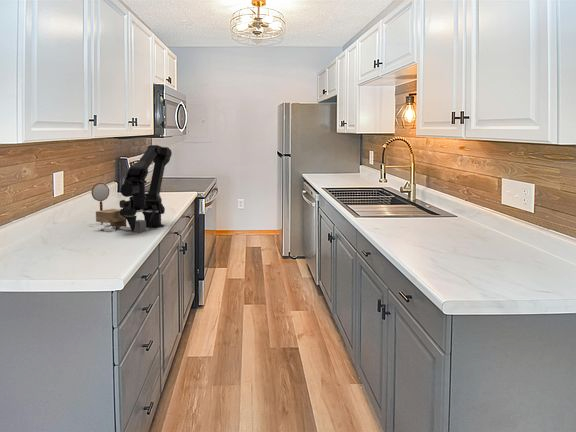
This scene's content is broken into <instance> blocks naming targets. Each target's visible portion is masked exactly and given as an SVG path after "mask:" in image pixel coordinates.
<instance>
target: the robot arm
mask: <svg viewBox="0 0 576 432" xmlns="http://www.w3.org/2000/svg"><path fill="white" fill-rule="evenodd" d="M172 154H173V153H172V150H171V149H170V148H169V147H168V146H167V147H166V146H160V145H158V144H150V145H148V146H147V147H146V151H144V153H143V155H142V156H141V157H140V159H139V160H138V161H137V162H134V163H133V164H131V165H130V167H129V168H128V170H127V172H126V176H125V178H124V183H123V184H122V185H121V187H120V193H121V195H122V196H123V197H125V198H128V197H129V200H125V199H122V200H119V209H121V210H120V215H122V217H125V218H126V222H127V223H128V225H129V226H128V227H130V228H131V230H130V231H131V232H133V231H134V228H135V223H136V220H137V213H141V214H143V218H144V219H143V220H146V229H147V228H158V227H164V226H165V224H162V215H163V214H165V206H164V205H163V203H162V197H161V195H160V193H161V188H162V182H163V177H164V172H165V167H166V165H167V164H169V162H170V161H171V157H172ZM152 163H154V165H153V171H152V175H151V179H150V185H149V189H148V191H147V192H146V184H147V183H148V182H147V181H146V178H147V176H148V174H149V167H150V165H151V164H152Z"/></svg>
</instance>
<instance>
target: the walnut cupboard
mask: <svg viewBox="0 0 576 432" xmlns="http://www.w3.org/2000/svg"><path fill="white" fill-rule="evenodd" d="M121 209H122V208H118V209H117V208H110V209H108V208H107V209H104V210H102V211H100V210H96V211H95V222H96V223H101V222H103V224H104V223H105V224H109V225H115V226H116V229H120V227H122V226H123V227H128V226H127V219H126V218H125V217H122V215H120V210H121Z"/></svg>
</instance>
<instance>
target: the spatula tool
mask: <svg viewBox="0 0 576 432" xmlns="http://www.w3.org/2000/svg"><path fill="white" fill-rule="evenodd" d="M119 230H122V231H123V230H125V231H132V230H131V228H130V226H127V227H123V226H122V227H120V228H119ZM132 232H133V233H137V234H138V233H139V234H141V233H145V232H147V228H146V220H144V219H136V223H135V228H134V231H132Z"/></svg>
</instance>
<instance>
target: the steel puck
mask: <svg viewBox="0 0 576 432" xmlns="http://www.w3.org/2000/svg"><path fill="white" fill-rule="evenodd" d="M116 231H117V228H116V226H115V225H110V224H107V225H104V226H103V232H105V233H113V232H116Z"/></svg>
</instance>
